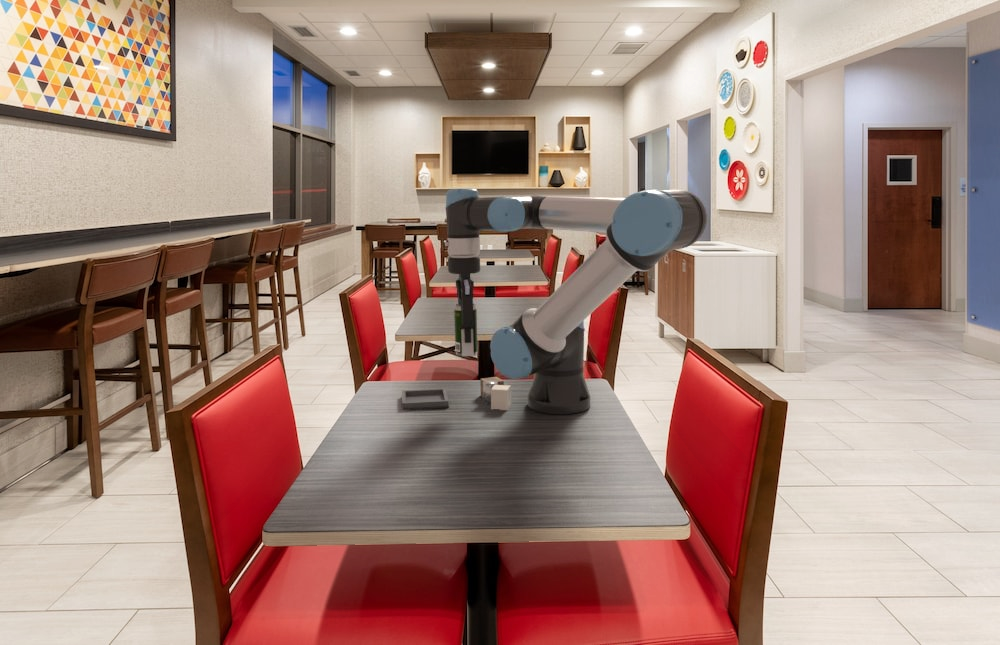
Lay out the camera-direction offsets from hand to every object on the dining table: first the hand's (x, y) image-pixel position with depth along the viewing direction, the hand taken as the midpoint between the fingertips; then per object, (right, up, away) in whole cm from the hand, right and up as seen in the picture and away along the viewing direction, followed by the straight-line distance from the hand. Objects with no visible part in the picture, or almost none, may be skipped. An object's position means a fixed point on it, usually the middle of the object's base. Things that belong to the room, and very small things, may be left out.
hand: (466, 352), depth 169 cm
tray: (-11, -12, +6) cm, 17 cm away
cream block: (+8, -13, +1) cm, 16 cm away
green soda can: (0, -1, 0) cm, 1 cm away
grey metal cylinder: (+6, -12, +5) cm, 15 cm away
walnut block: (+6, -12, +9) cm, 16 cm away
